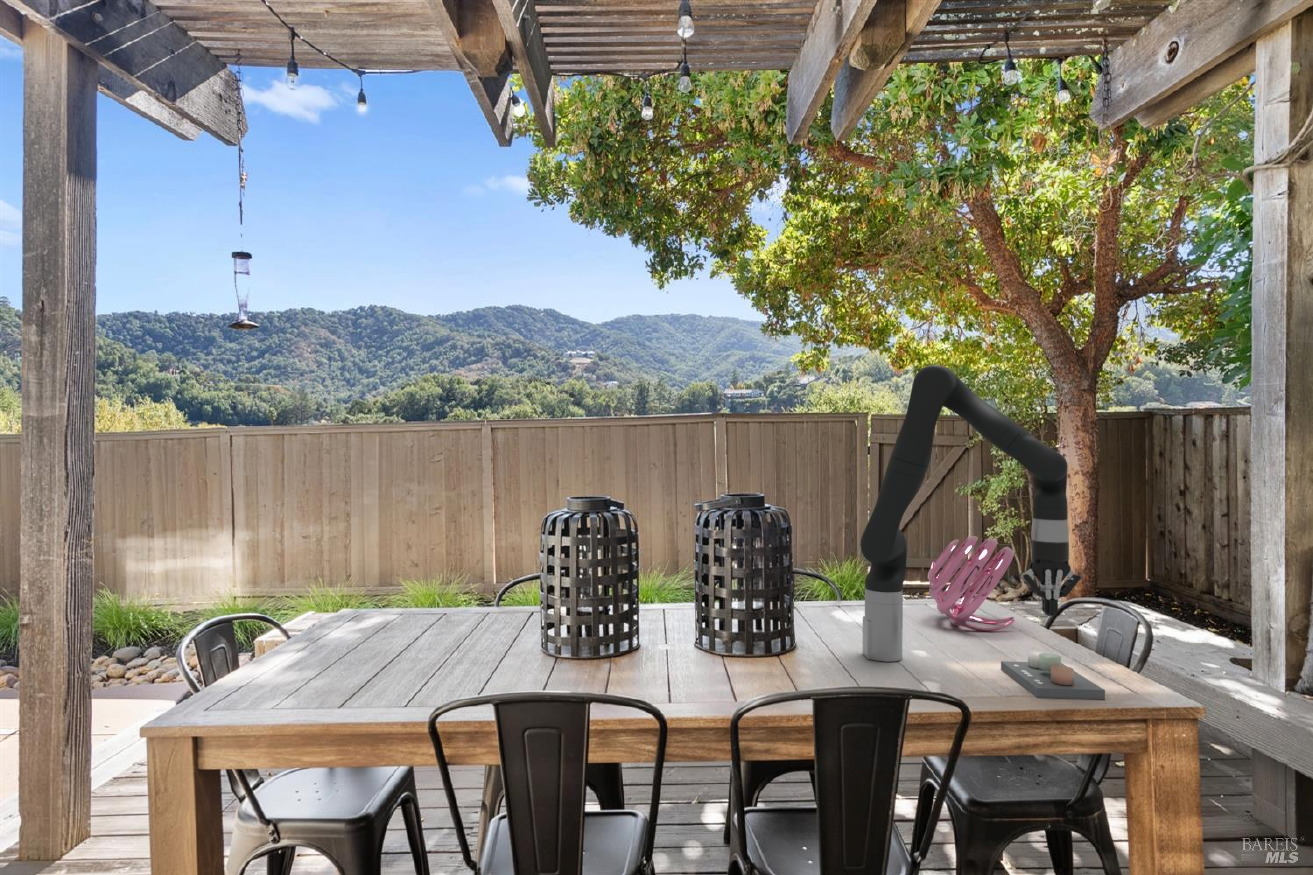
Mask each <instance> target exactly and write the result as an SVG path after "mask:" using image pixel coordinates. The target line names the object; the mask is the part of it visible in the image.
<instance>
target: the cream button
mask: <svg viewBox="0 0 1313 875" xmlns="http://www.w3.org/2000/svg"><path fill="white" fill-rule="evenodd" d="M1040 653H1047V652H1046V651H1043V650H1033V649H1032V650H1028V651H1027V662H1028V665H1029V666H1031V667H1034V668H1039V654H1040Z"/></svg>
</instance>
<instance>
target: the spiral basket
mask: <svg viewBox="0 0 1313 875" xmlns="http://www.w3.org/2000/svg"><path fill="white" fill-rule="evenodd" d="M978 539H979V537H978V536H975V535H971V536H967V538H966V539H965V540H964V541H963V542H962V543H961V545H959V546H958V548H957V549H956V547H957V545H958V543H959V542H960V540H959V539H954V540H953V541H951V542H950V543H949V544H947V546H946V547H945V548H944V550H943V551H942V552H941V554H940V555H939V556H938V558H937V559H936V561H934V560H933V561H932V562H931V564H930V568H929V570H928V573H927V580H928V582H929V590H928V593H929V597H930V598H932V599H934V601H935V603H936V604H937V605H936V609H937V611H938V612H939V613H940V614H941V615H945V616H946V617H948V618H949V620H950V622H951V624H953V625H954V626H958V627H964V628H967V629H968V630H969V629H970V630H974V631H980V632H994V631H995V632H996V631H999V630H1003V629H1005V628H1008V627H1009V626H1011V625H1012V624H1013V623H1015V620H1016V619H1015V617H1014V616H1011V617H1007V618H1002V619H991V618H986V617H982V616H978V615H975V614H974V613H975V612H976V611H977V610H978V609H979V608H980V607H981V605H982V604H983V603H984V602H985V600H987V598H988V597H989V595H991V593H992V591H993V590H994V589H995V587H996V586H997V584H998V583H999V582H1000V580H1001V579H1002V578H1003V576H1004V574H1005V573H1006V571H1007V570H1008V567H1009V566H1010V565H1011V563H1012V560H1013V558H1014V556H1015V552H1014V550H1013V549H1012V548H1011V547H1009V546H1004V547H1003V548H1001V549H1000V550H999V551H998V552H997V553H996V554H995V555H994V556H993V557H992V554H993V553H994V552H995V549H996V547H997V545H998V541H997V540H996V539H994V538H989V537H988V538H986V539H985V540H984V541H983V542H982V543H980V545H979V546H978V547H977V548H976V549H975V550H974V551H973V553H972V554H971V555H970V556H969V554H970V553H971V551H972V550H973V548H974V547H975V545H976V544H977V541H978ZM955 549H956V550H955ZM954 550H955V552H954V553H953V551H954ZM952 553H953V554H952ZM951 554H952V555H951ZM950 555H951V557H950ZM968 556H969V558H968V559H967V557H968ZM991 557H992V558H991ZM948 558H949V559H948ZM990 558H991V559H990ZM989 559H990V561H989ZM965 560H966V561H965ZM964 561H965V562H964ZM988 561H989V562H988ZM945 563H946V564H945ZM963 563H964V564H963ZM944 564H945V565H944ZM962 564H963V565H962ZM943 565H944V566H943ZM961 566H962V567H961ZM941 567H943V568H942V569H941ZM960 567H961V568H960ZM959 568H960V570H959ZM939 570H940V572H939V573H938V571H939ZM958 570H959V571H958ZM957 571H958V572H957ZM956 572H957V573H956ZM937 573H938V574H937ZM955 573H956V575H955ZM936 574H937V576H936V577H935V575H936ZM954 575H955V576H954ZM953 576H954V578H953ZM952 578H953V579H952ZM951 579H952V580H951ZM950 580H951V581H950ZM949 581H950V583H949ZM948 583H949V585H948V586H947V587H946V589H945V590H944V591H943V588H944V587H945V586H946V585H947V584H948ZM961 597H962V598H961ZM960 598H961V599H960ZM958 601H959V602H958ZM957 602H958V603H957ZM951 611H952V612H951ZM968 620H970V621H973V622H976V623H981V624H990V625H993V624H1001V625H999V626H998V625H997V626H993V627H983V626H977V625H974V624H973V625H972V624H970V623H969V622H967V621H968ZM1002 623H1004V624H1002Z"/></svg>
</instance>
